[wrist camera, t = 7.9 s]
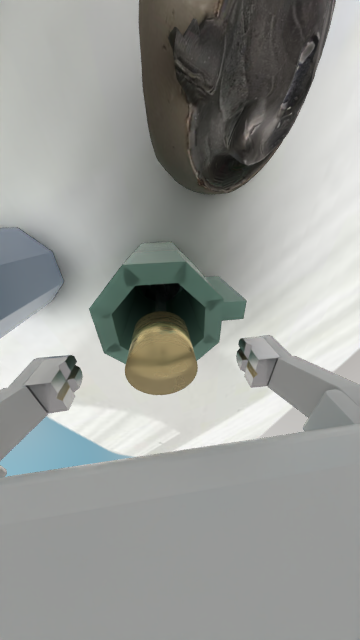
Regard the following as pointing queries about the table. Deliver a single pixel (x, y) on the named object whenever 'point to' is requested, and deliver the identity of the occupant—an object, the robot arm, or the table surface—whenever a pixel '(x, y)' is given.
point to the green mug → (189, 303)
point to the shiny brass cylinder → (160, 347)
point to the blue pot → (24, 278)
